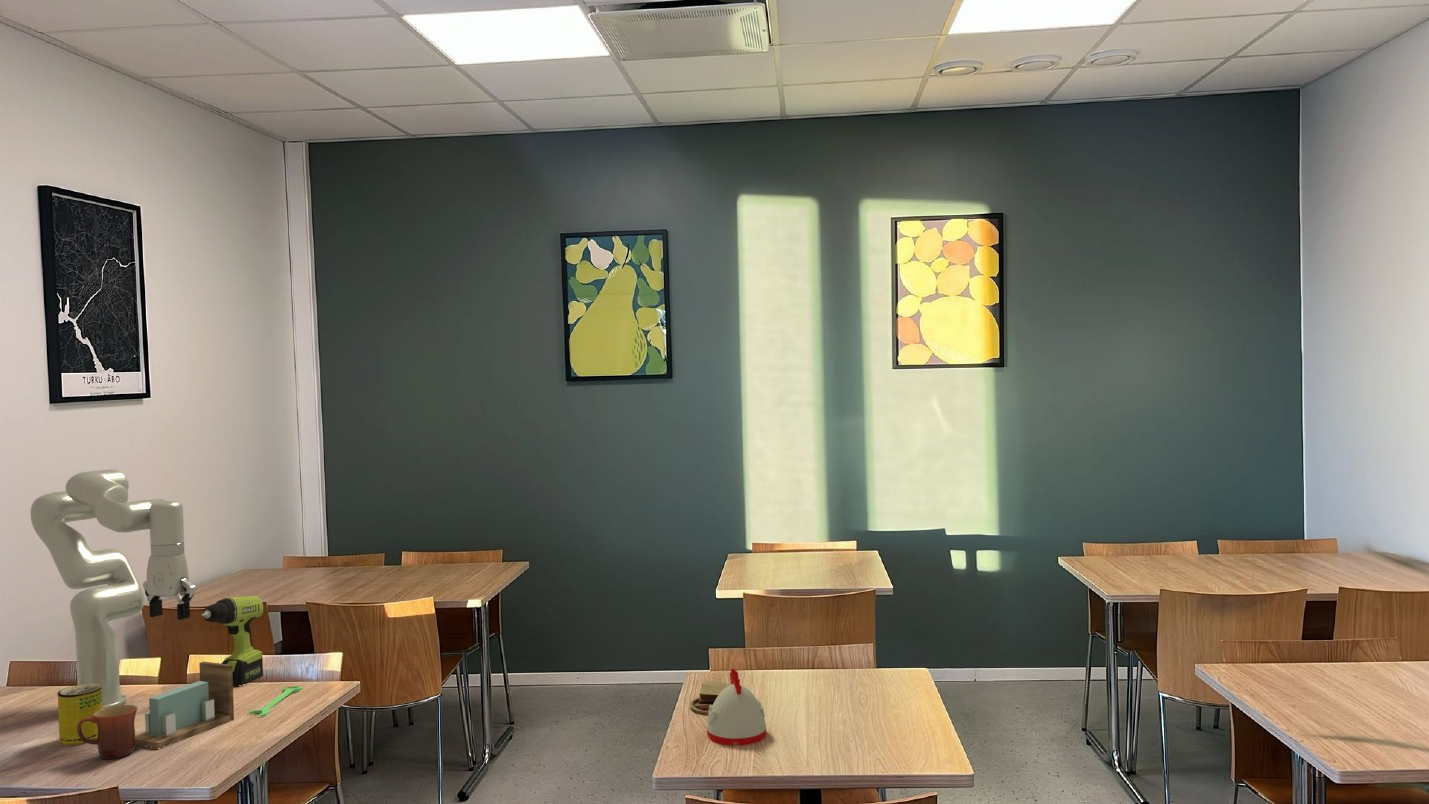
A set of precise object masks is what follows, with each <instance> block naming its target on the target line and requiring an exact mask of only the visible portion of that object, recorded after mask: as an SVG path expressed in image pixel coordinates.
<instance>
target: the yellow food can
mask: <svg viewBox="0 0 1429 804" xmlns="http://www.w3.org/2000/svg"><path fill="white" fill-rule="evenodd" d="M57 707H58V709H57V710H58V711H57V712H58V737H59V738H58V739H59V742H58V743H59V744H60V745H62V746H67V747H68V746H79V744H80V745H84V744H86V743H85V742H83V741H82V740H81V739H80V737H79V736H78V732H77V725H78V722H79V721H80V720H81V719H83V718H85V717H91V716H93V714H94V713H95V712H96V711H98V710H101V709H102V685H100V684H83V685H78V684H77V685H73V686H69V687H65V688H63V689H61V690H59V691H58V692H57ZM82 731H83V734H84V735H85V736H86V737H87V738H90V739H95V738H97V737H98V728H97V725H96V724H95V723H93V722H90V721H86V722H83V723H82Z"/></svg>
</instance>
